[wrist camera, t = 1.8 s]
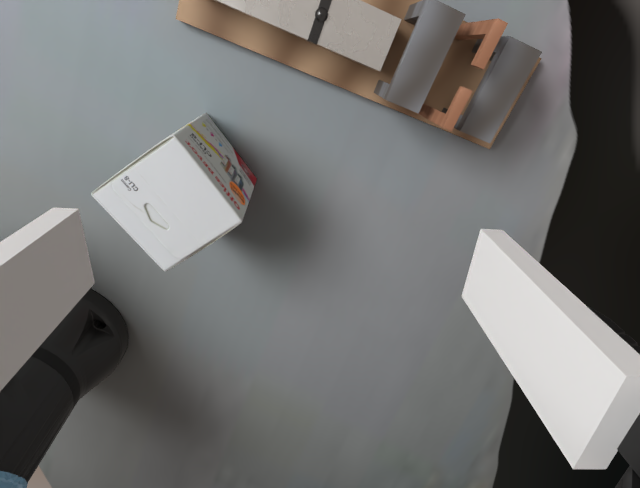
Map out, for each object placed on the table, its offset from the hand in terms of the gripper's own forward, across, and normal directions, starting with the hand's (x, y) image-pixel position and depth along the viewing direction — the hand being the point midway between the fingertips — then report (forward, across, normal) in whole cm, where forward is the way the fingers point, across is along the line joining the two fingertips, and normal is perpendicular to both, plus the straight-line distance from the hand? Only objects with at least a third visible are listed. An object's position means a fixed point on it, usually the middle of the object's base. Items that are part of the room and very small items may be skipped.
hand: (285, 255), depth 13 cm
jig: (+29, +6, +7) cm, 30 cm away
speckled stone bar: (+27, 0, +9) cm, 29 cm away
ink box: (+29, -10, -6) cm, 31 cm away
